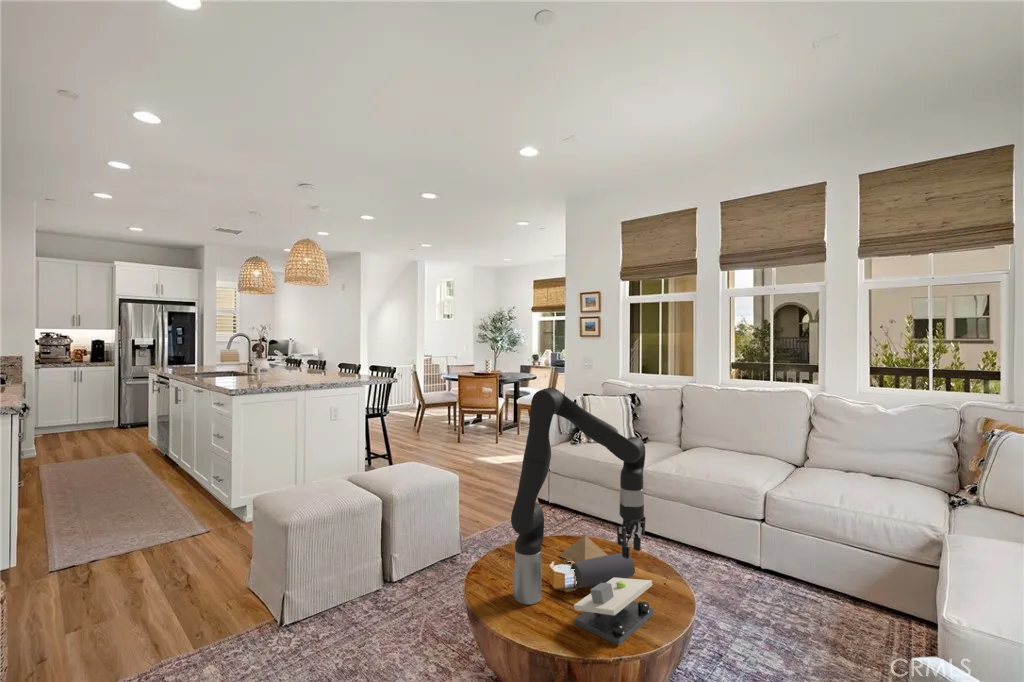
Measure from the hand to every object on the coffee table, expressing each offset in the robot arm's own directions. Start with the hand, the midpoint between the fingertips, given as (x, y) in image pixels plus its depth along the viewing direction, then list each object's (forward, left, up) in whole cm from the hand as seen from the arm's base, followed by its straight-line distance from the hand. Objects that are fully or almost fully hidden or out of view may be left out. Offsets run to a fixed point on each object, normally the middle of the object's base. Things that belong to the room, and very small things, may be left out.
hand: (631, 553), depth 159 cm
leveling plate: (-6, 0, -17) cm, 18 cm away
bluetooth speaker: (-21, +17, -24) cm, 36 cm away
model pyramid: (-38, +30, -24) cm, 55 cm away
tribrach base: (-6, 0, -24) cm, 24 cm away
